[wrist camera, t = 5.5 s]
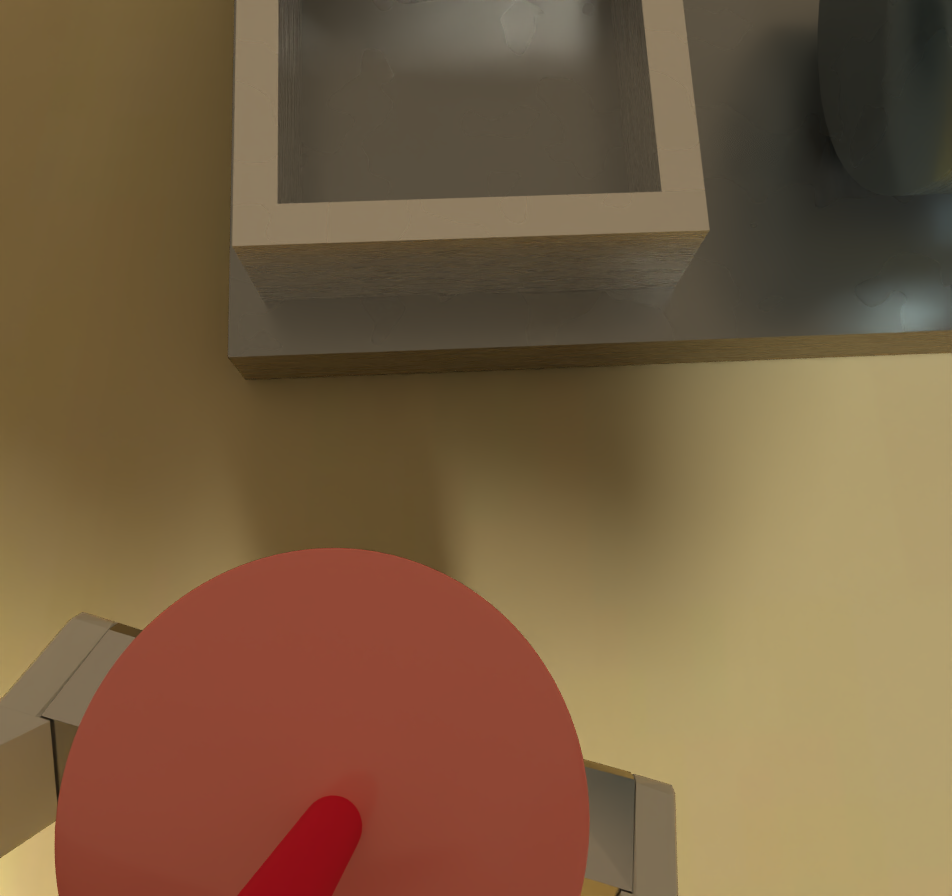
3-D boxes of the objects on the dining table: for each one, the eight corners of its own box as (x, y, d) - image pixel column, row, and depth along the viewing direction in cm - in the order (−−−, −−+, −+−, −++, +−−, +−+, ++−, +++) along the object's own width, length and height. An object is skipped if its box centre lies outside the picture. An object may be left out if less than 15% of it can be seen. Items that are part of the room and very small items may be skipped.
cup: (392, 935, 16) (239, 1648, 5) (201, 736, 17) (-342, 932, 6) (576, 721, 17) (824, 880, 6) (387, 541, 18) (263, 355, 6)
